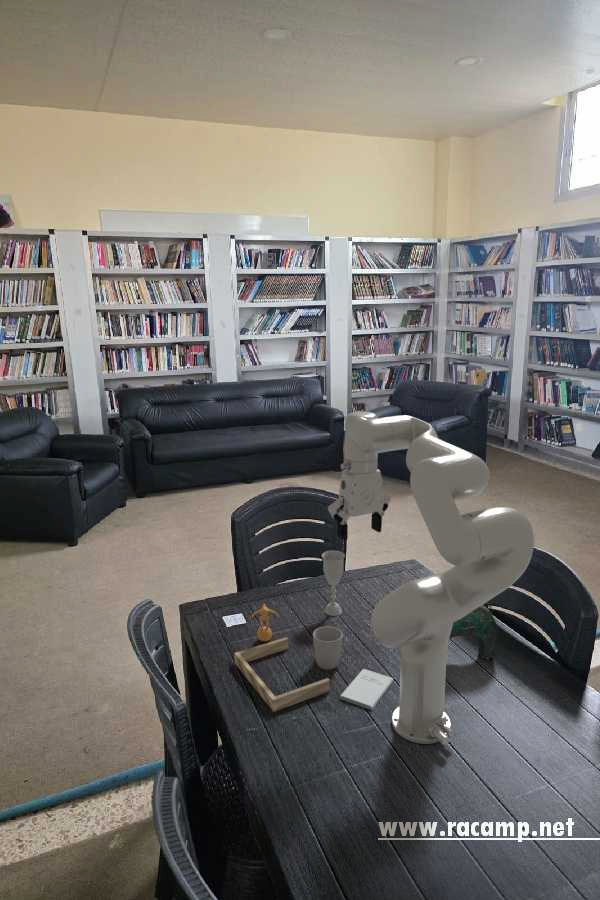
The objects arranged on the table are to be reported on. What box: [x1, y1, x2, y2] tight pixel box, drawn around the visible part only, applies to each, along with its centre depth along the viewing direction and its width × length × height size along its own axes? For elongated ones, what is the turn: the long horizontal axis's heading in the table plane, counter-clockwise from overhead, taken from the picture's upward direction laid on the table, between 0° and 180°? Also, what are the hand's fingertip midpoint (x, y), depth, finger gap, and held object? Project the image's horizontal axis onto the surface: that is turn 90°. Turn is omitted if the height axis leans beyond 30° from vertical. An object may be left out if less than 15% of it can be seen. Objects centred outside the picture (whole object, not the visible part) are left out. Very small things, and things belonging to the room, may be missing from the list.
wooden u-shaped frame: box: [234, 636, 331, 713], centre depth 153 cm, size 22×15×3 cm
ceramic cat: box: [449, 601, 499, 659], centre depth 158 cm, size 20×6×20 cm, turn 92°
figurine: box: [248, 603, 281, 643], centre depth 167 cm, size 8×6×12 cm
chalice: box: [321, 549, 346, 617], centre depth 182 cm, size 7×7×18 cm
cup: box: [312, 625, 344, 671], centre depth 159 cm, size 8×10×8 cm
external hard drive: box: [339, 668, 394, 711], centre depth 148 cm, size 2×8×12 cm
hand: (359, 534), depth 148 cm, fingers open, 9 cm apart
